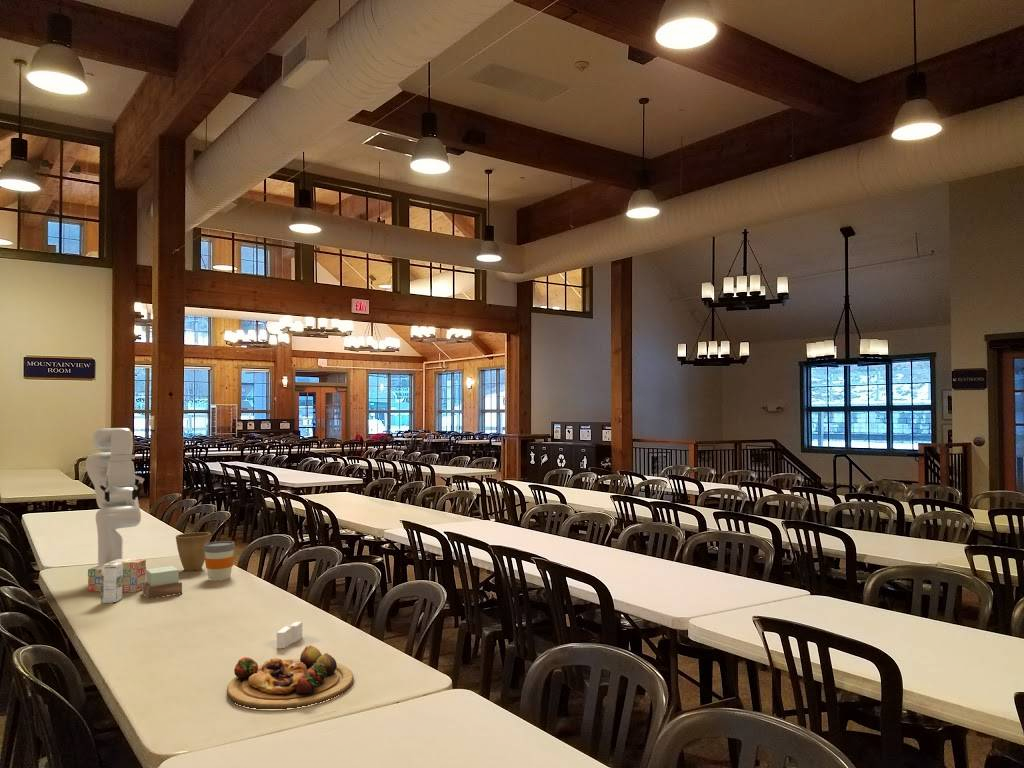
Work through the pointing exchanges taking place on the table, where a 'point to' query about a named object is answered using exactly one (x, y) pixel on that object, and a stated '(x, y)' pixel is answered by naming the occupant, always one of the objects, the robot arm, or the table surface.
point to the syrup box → (111, 582)
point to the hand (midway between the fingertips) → (120, 500)
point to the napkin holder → (289, 634)
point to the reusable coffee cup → (219, 559)
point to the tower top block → (162, 575)
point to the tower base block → (161, 589)
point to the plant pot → (192, 549)
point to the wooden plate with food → (289, 681)
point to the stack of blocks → (131, 575)
